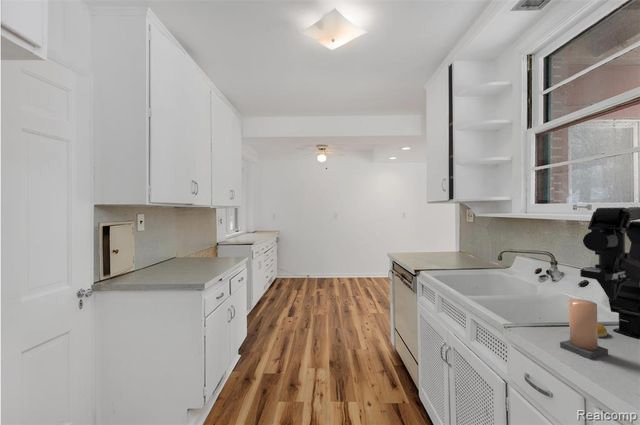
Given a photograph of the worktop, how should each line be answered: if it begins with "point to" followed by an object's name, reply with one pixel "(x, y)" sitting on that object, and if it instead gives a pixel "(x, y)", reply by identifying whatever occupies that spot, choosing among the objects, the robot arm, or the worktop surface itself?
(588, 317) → the peach cylinder
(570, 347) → the plate
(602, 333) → the bread roll
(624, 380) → the worktop surface
